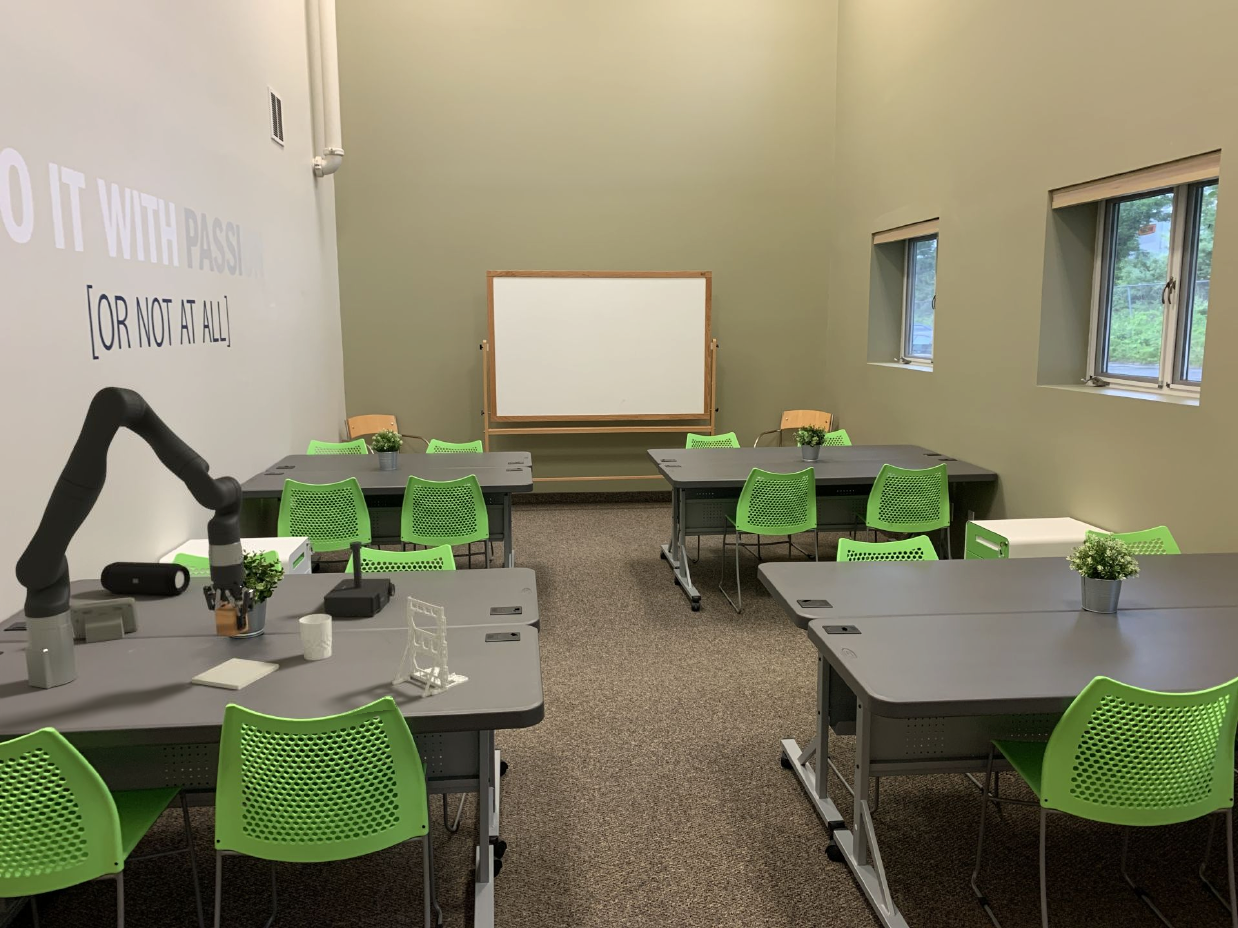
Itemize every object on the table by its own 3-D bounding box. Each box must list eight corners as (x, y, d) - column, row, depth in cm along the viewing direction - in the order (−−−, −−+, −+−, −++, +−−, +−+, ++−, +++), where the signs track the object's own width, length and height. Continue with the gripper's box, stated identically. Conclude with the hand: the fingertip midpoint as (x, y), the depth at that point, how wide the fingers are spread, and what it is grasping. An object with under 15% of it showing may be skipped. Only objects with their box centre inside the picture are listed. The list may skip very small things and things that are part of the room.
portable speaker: (100, 596, 292) (96, 566, 290) (121, 587, 301) (118, 557, 300) (174, 599, 288) (171, 568, 286) (193, 589, 297) (190, 559, 296)
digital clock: (142, 629, 260) (139, 592, 258) (132, 640, 251) (128, 602, 250) (79, 633, 257) (75, 597, 255) (67, 644, 248) (63, 606, 247)
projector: (381, 617, 268) (377, 550, 264) (323, 618, 268) (319, 551, 265) (398, 597, 286) (394, 535, 283) (344, 598, 287) (340, 535, 284)
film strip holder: (473, 680, 220) (470, 600, 217) (426, 699, 210) (422, 614, 207) (436, 666, 230) (432, 588, 226) (389, 682, 219) (384, 602, 216)
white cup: (301, 652, 240) (298, 616, 238) (332, 648, 243) (330, 612, 241) (302, 663, 233) (299, 625, 231) (334, 658, 235) (332, 621, 234)
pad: (238, 689, 217) (238, 685, 216) (191, 682, 221) (191, 678, 221) (278, 668, 230) (278, 664, 229) (233, 661, 234) (233, 658, 234)
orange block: (233, 636, 221) (231, 612, 220) (216, 634, 222) (214, 610, 221) (248, 629, 225) (246, 605, 224) (231, 627, 227) (229, 603, 226)
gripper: (190, 562, 220) (197, 630, 222) (239, 566, 215) (245, 636, 218) (213, 554, 227) (220, 620, 229) (261, 558, 222) (267, 626, 225)
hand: (232, 628), depth 224 cm, fingers closed on orange block, 5 cm apart
